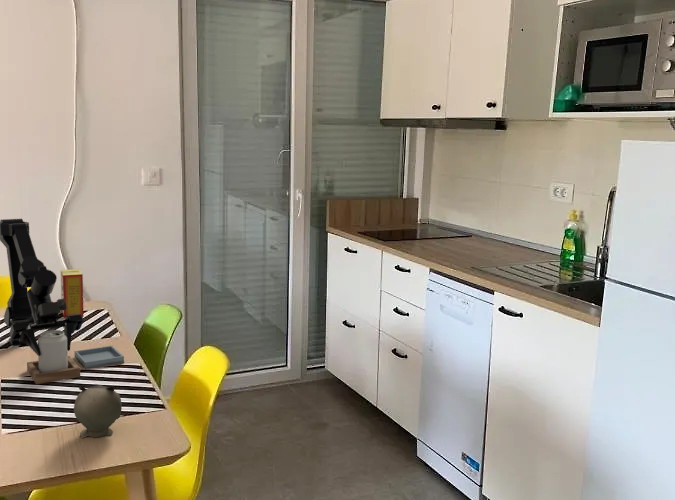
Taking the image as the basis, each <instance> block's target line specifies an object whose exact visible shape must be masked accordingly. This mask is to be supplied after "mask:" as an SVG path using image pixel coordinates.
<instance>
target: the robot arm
mask: <svg viewBox="0 0 675 500" xmlns="http://www.w3.org/2000/svg"><path fill="white" fill-rule="evenodd" d="M31 238H32V237H31V235H30V222H29V221H28V222H27V221H24V220H23V219H22V218H9V219H8V218H7V219H5V218H4V219H0V243H2V245H3V246H4V247H5V248H6V254H7V255H6V256H7V264H8V270H9V271H8V272H9V279H10V288H11V289H10V290H11V294H10V296H9V298H8V300H7V302H6V304H7V306H6V309H5V312H4V315H3V320H4V324H5V325H6V326H7V327H10V330H9V337H10V338H8V342H9V343H10V344H11V346H18V345H25V344H26V345H27V346H28V347H29V348H30V349H31V350H32V351H33V352H34V354H36V355H37V356H40V349H39V346H38V340H37V337H36V336H35V332H38V331H44V330H45V331H47V330H53V329H59V328H63V332H64V335H65V336H66V337H67V352H69V351H71V343H72V335H73V334H74V333H75V331H79V330H81V327H82V325H83V324H84V321H85V320H84V316H82V315H81V314H79V313H78V314H71V315H67V317H66V318H64V319H62V320H57V319H59V318H60V314H61V313H62V311H64V310H66V309H67V306H66V302H65V299H61V298H59V299H57V300H56V301H52V298H51V294H52V292H53V290H54V288H55V286H56V282H57V274H56V273H55V272H54V271H52V270H50V269H47V266H46V265H45V263H44V262H43V261H41V259H38V257H37V255H36V252H35V248H34V245H33V241H32V239H31ZM28 288H29V289H28Z"/></svg>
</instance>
